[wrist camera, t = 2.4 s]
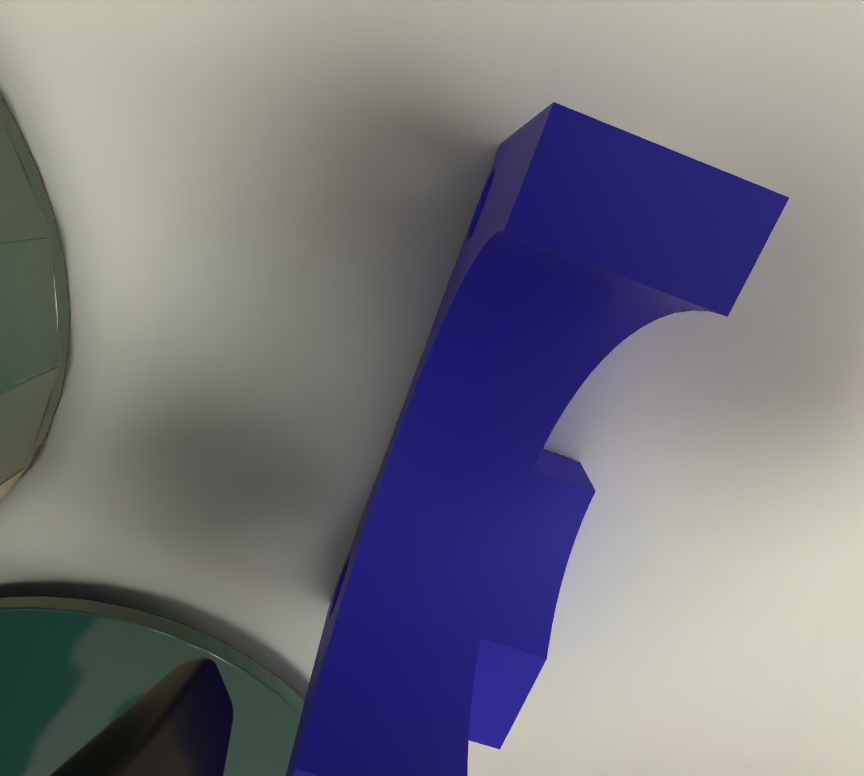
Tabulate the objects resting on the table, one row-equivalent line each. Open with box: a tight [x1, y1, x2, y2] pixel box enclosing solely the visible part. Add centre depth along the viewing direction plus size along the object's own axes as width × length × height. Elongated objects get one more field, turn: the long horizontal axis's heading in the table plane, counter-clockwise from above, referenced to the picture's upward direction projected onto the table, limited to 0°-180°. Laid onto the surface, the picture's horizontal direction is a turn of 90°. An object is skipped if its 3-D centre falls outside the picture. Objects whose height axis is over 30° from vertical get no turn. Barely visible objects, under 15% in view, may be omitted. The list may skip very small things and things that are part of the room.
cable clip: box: [286, 102, 789, 776], centre depth 12 cm, size 12×4×6 cm, turn 160°
